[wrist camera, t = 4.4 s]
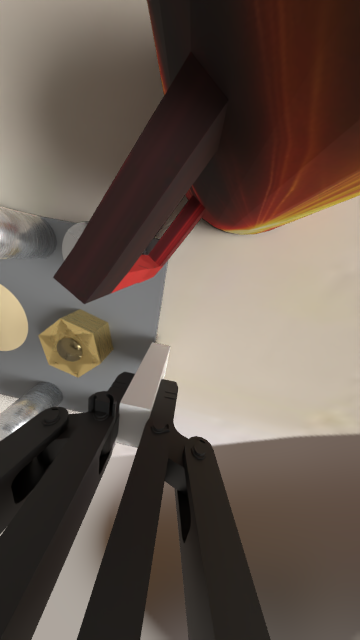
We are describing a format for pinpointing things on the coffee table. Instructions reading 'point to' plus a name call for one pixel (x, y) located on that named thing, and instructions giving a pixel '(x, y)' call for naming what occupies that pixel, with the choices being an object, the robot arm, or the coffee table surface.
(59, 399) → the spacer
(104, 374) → the mat
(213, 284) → the coffee table surface
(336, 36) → the mug
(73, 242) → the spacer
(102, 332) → the nut
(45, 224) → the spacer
